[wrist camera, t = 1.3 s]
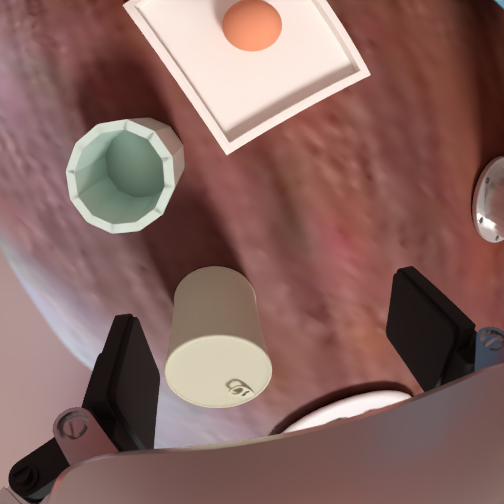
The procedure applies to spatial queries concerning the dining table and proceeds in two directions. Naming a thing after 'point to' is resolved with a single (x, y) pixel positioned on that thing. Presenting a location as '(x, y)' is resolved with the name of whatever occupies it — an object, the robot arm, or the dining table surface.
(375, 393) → the plated food
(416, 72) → the dining table surface
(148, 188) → the cup
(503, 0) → the casserole dish
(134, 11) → the tray
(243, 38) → the ball
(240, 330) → the can
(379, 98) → the dining table surface
